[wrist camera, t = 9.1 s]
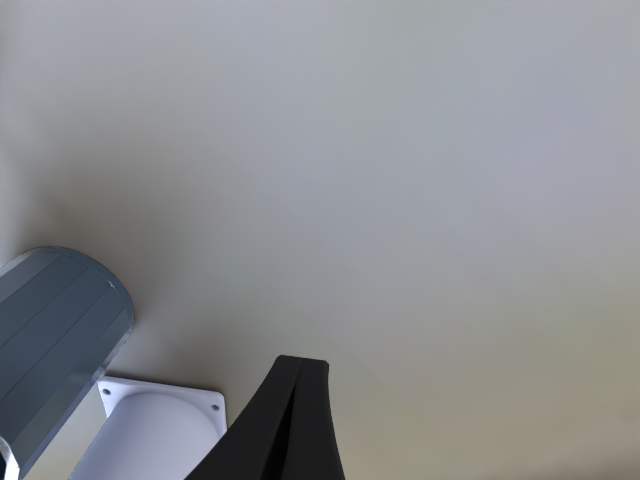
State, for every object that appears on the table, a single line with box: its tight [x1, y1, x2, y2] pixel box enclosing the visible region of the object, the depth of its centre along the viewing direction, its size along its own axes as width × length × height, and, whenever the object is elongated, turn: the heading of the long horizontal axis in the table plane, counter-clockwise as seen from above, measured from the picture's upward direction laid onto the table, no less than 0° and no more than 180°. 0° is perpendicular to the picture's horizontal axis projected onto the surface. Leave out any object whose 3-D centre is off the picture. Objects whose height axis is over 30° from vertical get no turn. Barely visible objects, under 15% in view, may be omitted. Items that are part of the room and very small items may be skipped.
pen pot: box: [0, 247, 134, 480], centre depth 21 cm, size 7×7×9 cm
